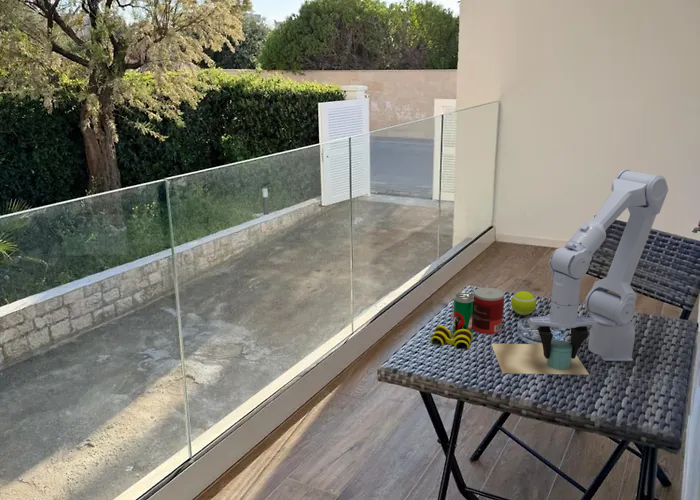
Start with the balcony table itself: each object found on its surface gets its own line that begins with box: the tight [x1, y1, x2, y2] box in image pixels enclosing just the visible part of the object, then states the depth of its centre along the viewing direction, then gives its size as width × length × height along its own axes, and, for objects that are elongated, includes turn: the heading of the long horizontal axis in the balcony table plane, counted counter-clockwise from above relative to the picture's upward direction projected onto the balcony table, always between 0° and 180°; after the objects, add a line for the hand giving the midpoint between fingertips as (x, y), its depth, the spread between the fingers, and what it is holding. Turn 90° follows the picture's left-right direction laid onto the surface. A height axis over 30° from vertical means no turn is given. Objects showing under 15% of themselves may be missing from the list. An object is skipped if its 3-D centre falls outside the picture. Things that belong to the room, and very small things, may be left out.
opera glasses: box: [430, 325, 474, 350], centre depth 151 cm, size 10×5×5 cm, turn 67°
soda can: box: [451, 292, 474, 336], centre depth 154 cm, size 5×5×12 cm
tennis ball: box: [510, 290, 537, 316], centre depth 170 cm, size 7×7×7 cm
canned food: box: [473, 287, 505, 335], centre depth 159 cm, size 8×8×11 cm
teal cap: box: [547, 339, 572, 370], centre depth 139 cm, size 5×5×5 cm
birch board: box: [491, 343, 590, 376], centre depth 143 cm, size 19×15×1 cm
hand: (559, 356), depth 139 cm, fingers open, 5 cm apart
